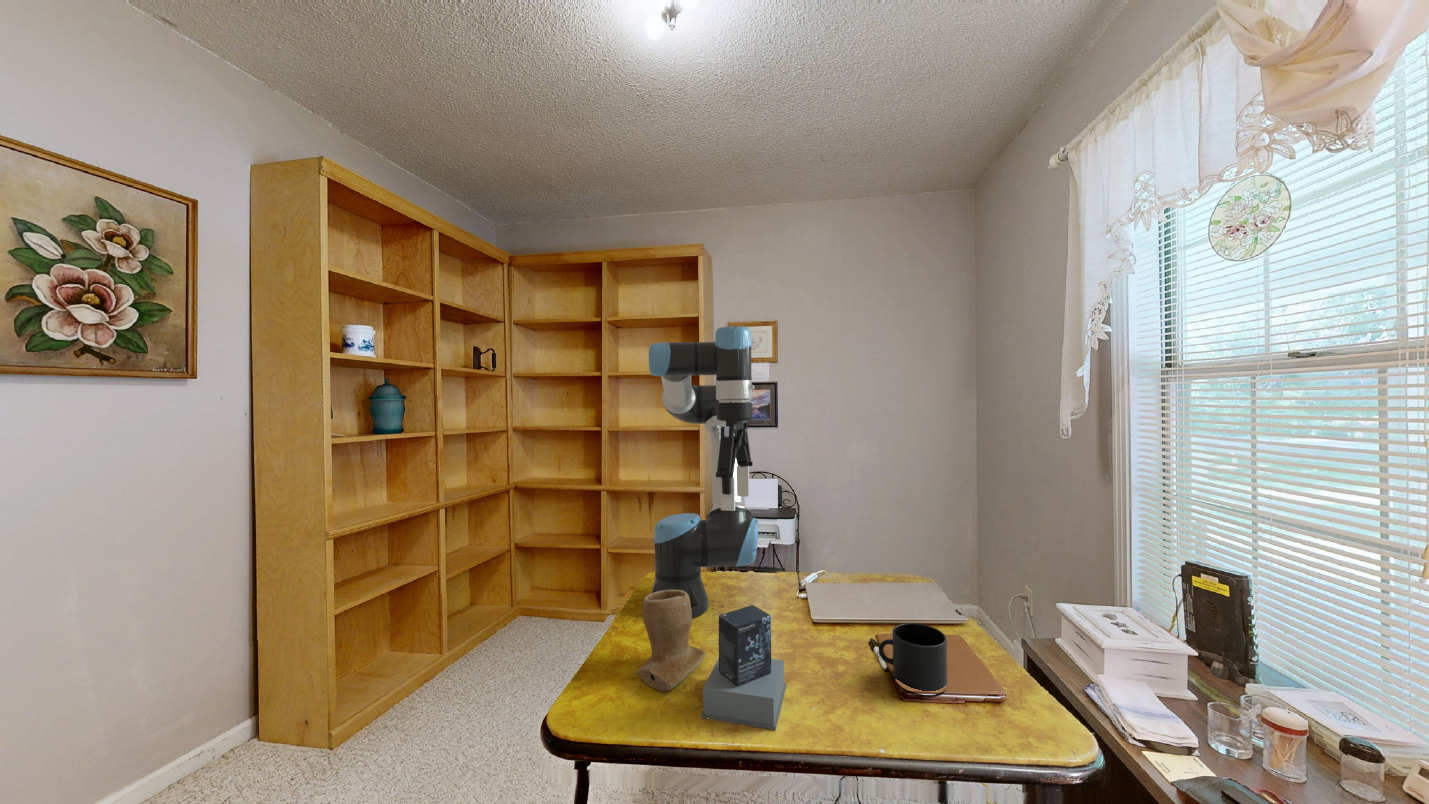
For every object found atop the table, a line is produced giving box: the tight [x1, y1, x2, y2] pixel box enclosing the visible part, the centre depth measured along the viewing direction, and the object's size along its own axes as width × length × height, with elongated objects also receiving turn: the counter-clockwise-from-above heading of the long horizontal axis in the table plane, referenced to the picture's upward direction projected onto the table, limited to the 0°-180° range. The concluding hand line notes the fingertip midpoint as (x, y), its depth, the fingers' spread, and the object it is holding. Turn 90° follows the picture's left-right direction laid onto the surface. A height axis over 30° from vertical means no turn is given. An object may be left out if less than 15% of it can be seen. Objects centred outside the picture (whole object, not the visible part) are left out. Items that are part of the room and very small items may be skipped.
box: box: [718, 604, 772, 687], centre depth 89 cm, size 8×6×11 cm
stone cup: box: [636, 590, 707, 692], centre depth 100 cm, size 15×12×15 cm
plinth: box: [700, 657, 787, 731], centre depth 89 cm, size 13×13×5 cm
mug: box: [878, 622, 948, 691], centre depth 95 cm, size 9×12×9 cm
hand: (736, 502), depth 106 cm, fingers open, 13 cm apart
